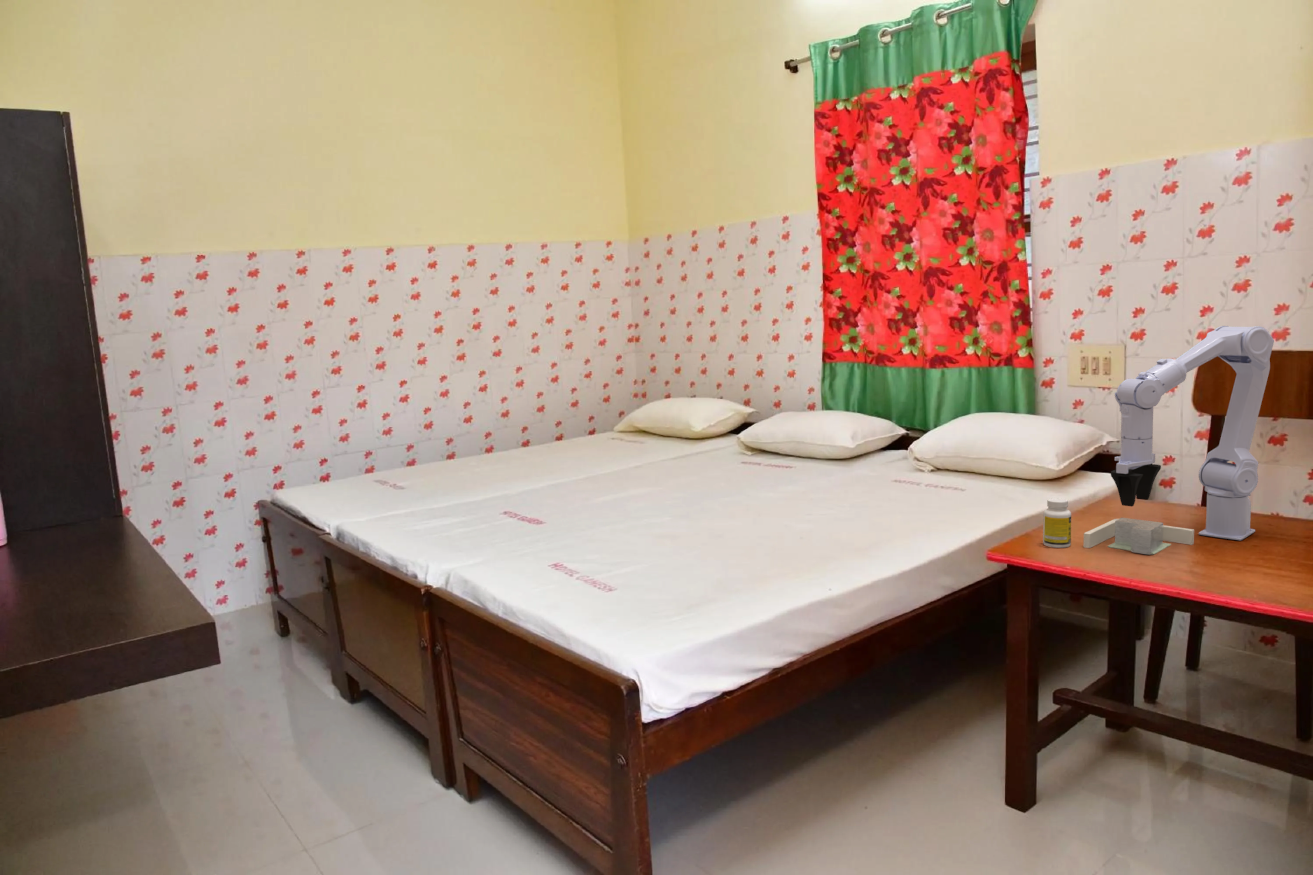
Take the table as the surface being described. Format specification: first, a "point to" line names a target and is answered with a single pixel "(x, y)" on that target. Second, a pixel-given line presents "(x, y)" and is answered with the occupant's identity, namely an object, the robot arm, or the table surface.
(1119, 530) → the bracket
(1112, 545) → the mat
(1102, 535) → the arena
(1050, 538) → the supplement bottle
